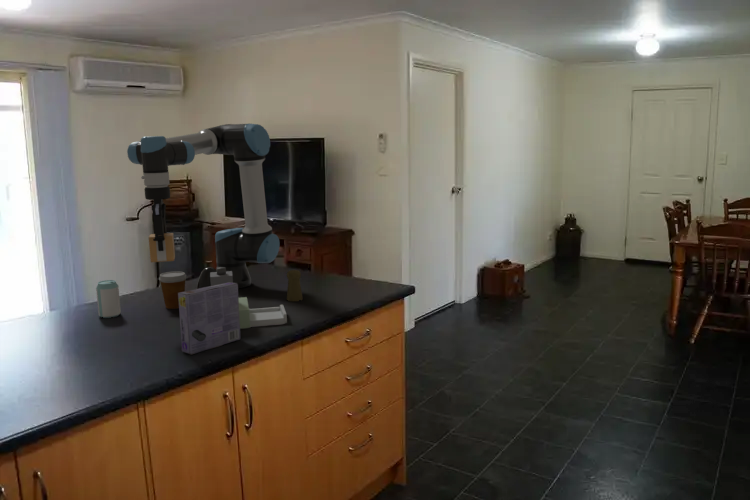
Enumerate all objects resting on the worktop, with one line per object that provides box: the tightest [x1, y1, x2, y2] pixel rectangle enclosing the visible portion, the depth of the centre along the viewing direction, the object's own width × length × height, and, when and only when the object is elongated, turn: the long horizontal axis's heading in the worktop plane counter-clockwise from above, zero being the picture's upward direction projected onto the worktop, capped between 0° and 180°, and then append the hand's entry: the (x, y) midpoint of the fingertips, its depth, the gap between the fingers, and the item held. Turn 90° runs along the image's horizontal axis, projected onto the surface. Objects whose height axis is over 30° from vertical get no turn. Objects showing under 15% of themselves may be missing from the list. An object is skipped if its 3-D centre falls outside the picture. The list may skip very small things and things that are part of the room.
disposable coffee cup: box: [158, 271, 187, 310], centre depth 228 cm, size 10×10×12 cm
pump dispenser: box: [196, 266, 216, 289], centre depth 224 cm, size 10×10×15 cm
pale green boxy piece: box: [210, 267, 288, 330], centre depth 209 cm, size 16×26×18 cm, turn 104°
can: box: [95, 279, 122, 319], centre depth 217 cm, size 7×7×12 cm
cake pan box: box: [178, 282, 241, 356], centre depth 186 cm, size 19×5×18 cm, turn 141°
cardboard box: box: [148, 232, 176, 263], centre depth 202 cm, size 6×7×8 cm
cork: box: [286, 269, 304, 302], centre depth 236 cm, size 6×6×11 cm
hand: (162, 258), depth 203 cm, fingers closed on cardboard box, 6 cm apart
